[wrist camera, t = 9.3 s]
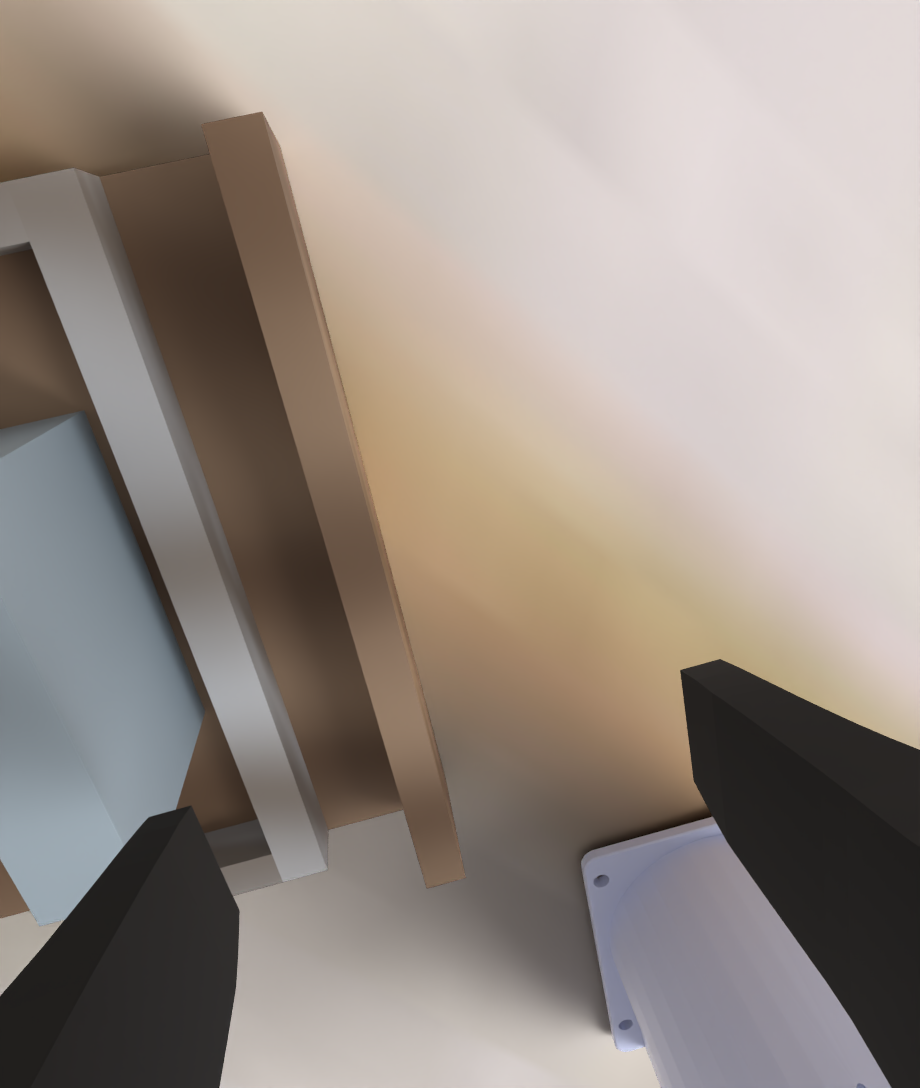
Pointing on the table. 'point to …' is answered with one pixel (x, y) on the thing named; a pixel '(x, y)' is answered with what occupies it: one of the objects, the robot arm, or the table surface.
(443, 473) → the table surface
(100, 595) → the door panel
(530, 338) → the table surface
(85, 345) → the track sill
